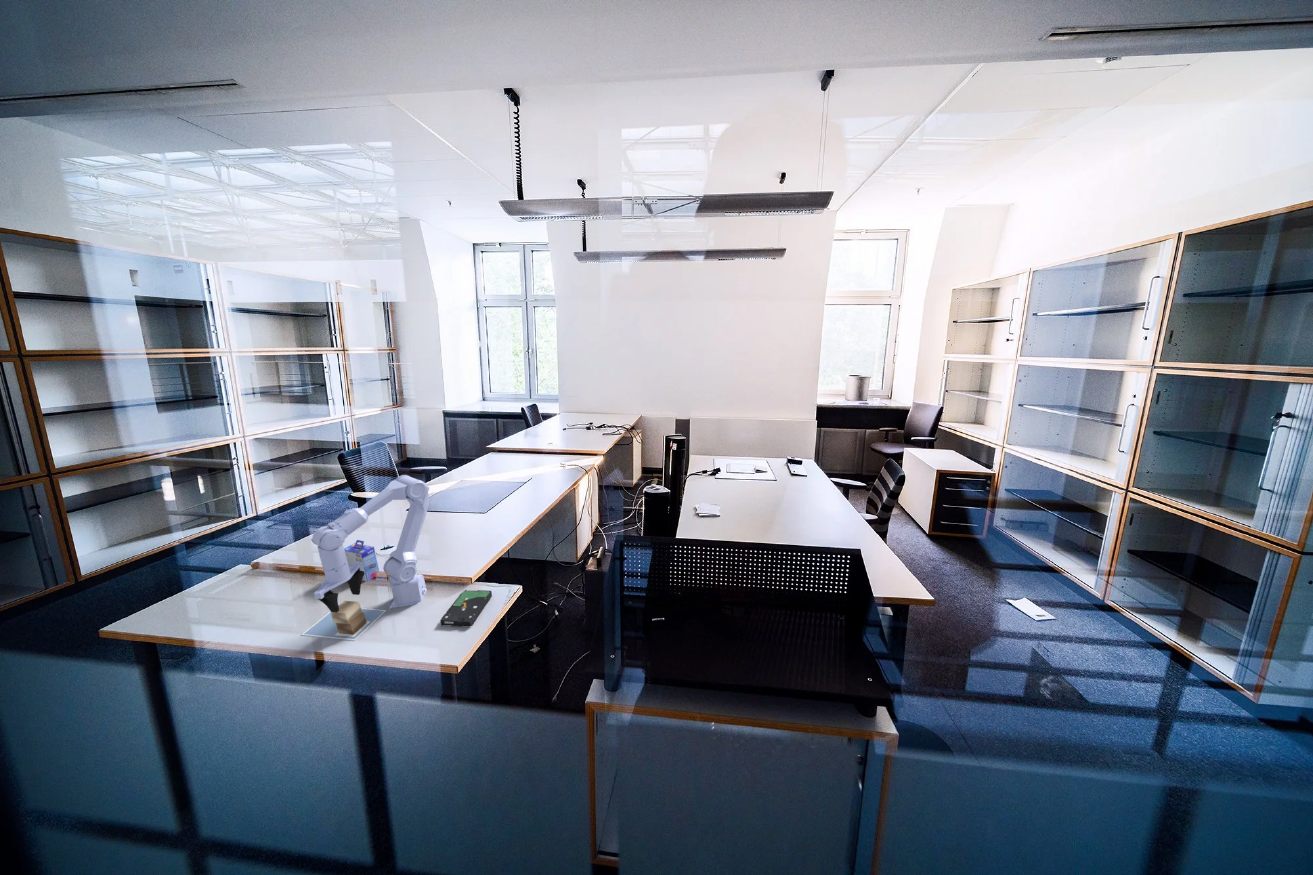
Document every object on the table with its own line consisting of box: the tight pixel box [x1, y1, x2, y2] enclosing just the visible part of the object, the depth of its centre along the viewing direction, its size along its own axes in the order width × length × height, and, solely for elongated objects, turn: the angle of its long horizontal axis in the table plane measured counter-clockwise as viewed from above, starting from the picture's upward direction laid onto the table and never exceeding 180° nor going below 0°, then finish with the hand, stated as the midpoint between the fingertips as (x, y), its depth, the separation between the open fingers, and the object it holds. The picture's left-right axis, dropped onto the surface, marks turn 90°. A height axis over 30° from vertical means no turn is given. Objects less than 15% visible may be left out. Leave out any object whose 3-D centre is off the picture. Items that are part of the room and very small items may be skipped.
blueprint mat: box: [300, 607, 388, 642], centre depth 126 cm, size 18×13×1 cm
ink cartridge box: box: [344, 539, 380, 582], centre depth 147 cm, size 10×6×14 cm, turn 74°
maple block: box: [331, 600, 362, 624], centre depth 122 cm, size 5×5×4 cm
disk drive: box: [440, 589, 493, 627], centre depth 133 cm, size 10×3×15 cm
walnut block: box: [336, 612, 367, 635], centre depth 123 cm, size 5×5×4 cm
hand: (346, 602), depth 121 cm, fingers open, 7 cm apart
